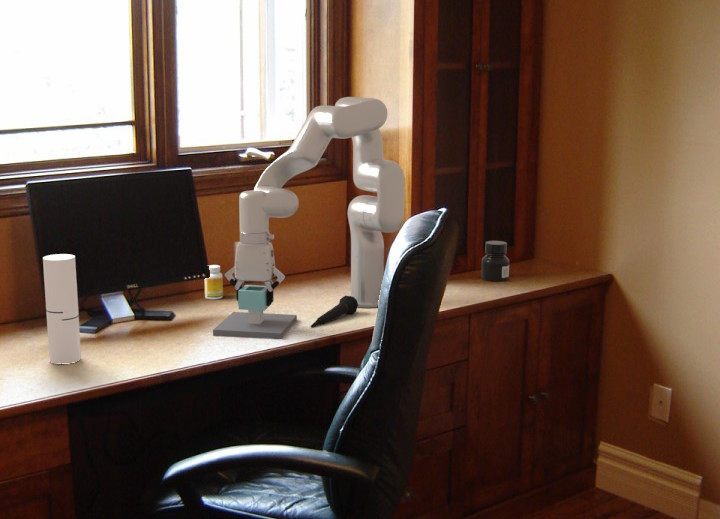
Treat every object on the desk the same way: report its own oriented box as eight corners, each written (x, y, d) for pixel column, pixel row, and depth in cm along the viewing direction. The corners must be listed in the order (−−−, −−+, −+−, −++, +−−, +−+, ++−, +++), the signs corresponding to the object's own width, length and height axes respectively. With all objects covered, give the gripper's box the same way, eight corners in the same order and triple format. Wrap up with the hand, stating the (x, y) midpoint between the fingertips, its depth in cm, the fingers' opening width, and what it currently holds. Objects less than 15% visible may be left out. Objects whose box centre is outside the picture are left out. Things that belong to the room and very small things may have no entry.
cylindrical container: (53, 356, 232) (46, 254, 227) (83, 355, 233) (77, 253, 227) (46, 365, 225) (39, 260, 220) (77, 364, 226) (71, 260, 220)
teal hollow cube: (271, 304, 258) (271, 286, 257) (264, 310, 251) (264, 292, 250) (245, 302, 259) (245, 284, 258) (238, 309, 252) (238, 290, 251)
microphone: (317, 340, 257) (359, 314, 273) (321, 321, 254) (363, 297, 270) (301, 330, 259) (344, 306, 275) (305, 313, 257) (347, 289, 272)
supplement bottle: (201, 297, 288) (200, 265, 286) (217, 294, 292) (216, 263, 290) (210, 300, 284) (210, 269, 282) (226, 298, 288) (225, 266, 286)
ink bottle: (510, 282, 309) (512, 245, 306) (482, 282, 309) (484, 245, 306) (506, 275, 318) (507, 239, 316) (479, 275, 318) (480, 239, 316)
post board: (296, 320, 264) (296, 293, 262) (280, 338, 247) (280, 310, 245) (233, 317, 267) (232, 290, 265) (213, 335, 249) (212, 307, 248)
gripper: (290, 237, 254) (290, 302, 257) (226, 234, 257) (227, 299, 260) (283, 242, 247) (283, 309, 250) (217, 239, 249) (219, 306, 253)
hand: (255, 303), depth 255 cm, fingers closed on teal hollow cube, 7 cm apart
